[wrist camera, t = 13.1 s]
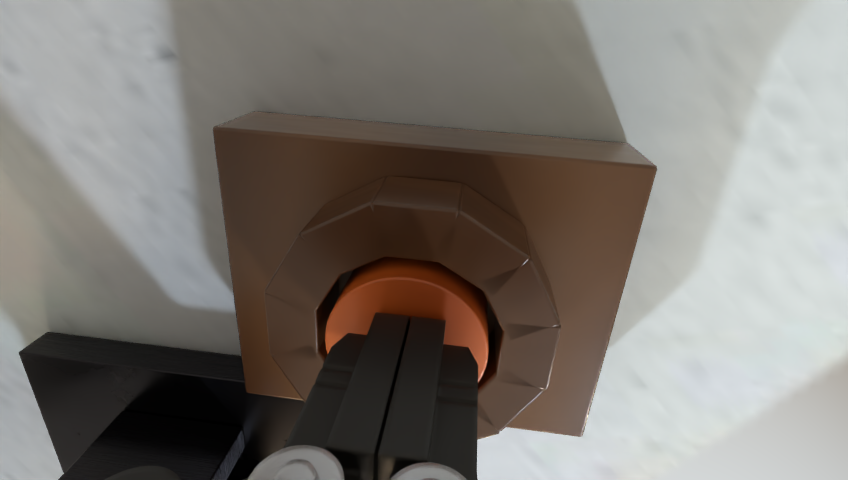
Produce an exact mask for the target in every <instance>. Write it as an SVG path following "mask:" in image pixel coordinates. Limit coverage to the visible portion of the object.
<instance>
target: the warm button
mask: <svg viewBox="0 0 848 480" xmlns="http://www.w3.org/2000/svg"><path fill="white" fill-rule="evenodd" d="M376 312H380V313H388V314H397V315H405V316H410V323H411V319H412V316H415V317H423V318H432V319H440V320H446V326H445V337H444V344H446V345H454V346H462V347H469V349H470V351H471V353H472V355H473V356H474V358H475V360H476V362H477V364H478V382H479V381H480V379H481V377H482V376H483V374H484V371H485V369H486V366H487V361H488V352H489V341H488V305H487V299H486V297H485V295H484V293H483V291H482V290H481V289H479V288H478V287H476V286H475V285H473V284H471V283H470V282H468V281H467V280H465V279H464V278H462V277H461V276H459V275H458V274H456V273H455V272H453V271H451V270H450V269H448V268H447V267H445V266H444V265H442V264H441V263H439V262H432V261H423V260H414V259H404V258H395V257H386V256H385V257H383V258H380V259H378V260H375V261H373V262H370V263H368V264H366V265H363V266H361V267H358V268H356V269H354V270H353V272H352V274H351V275H350V277H349V279H348V281H347V283H346V285H345V287H344V288H343V290H342V292H341V294H340V296H339V298H338V300H337V302H336V304H335V306H334V308H333V310H332V311H331V313H330V316H329V318H328V321H327V325H326V330H325V343H326V350H327V354H328V353H329V351H330V349H331V347H332V346H333V345H334V344H335V343H337V342H338V341H339V340H340V339H341V338H343V337H344V336H345V335H346V334H347V333H354V334H362V335H367V334H368V331H369V328H370V326H371V323H372V320H373V318H374V315H375V313H376Z"/></svg>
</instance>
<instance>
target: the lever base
mask: <svg viewBox="0 0 848 480" xmlns="http://www.w3.org/2000/svg"><path fill="white" fill-rule="evenodd" d="M19 355H20V358H21V360H22V363H23V366H24V368H25V371H26V374H27V376H28V379H29V382H30V384H31V387H32V390H33V392H34V395H35V398H36V400H37V403H38V406H39V408H40V411H41V414H42V416H43V419H44V422H45V424H46V427H47V430H48V432H49V435H50V438H51V440H52V443H53V446H54V448H55V451H56V454H57V456H58V459H59V462H60V464H61V467H62V470H63V472H64V474H63V475H62V476H61V477H60V478H59V479H58V480H105V479H107V478H109V477H111V476H113V475H115V474H117V473H119V472H122V471H125V470H128V469H131V468H135V467H140V466H160V467H165V468H167V469H169V470H172V471H173V472H174V473H176V474H177V475H178V477H179V478H180V479H181V480H243V479H246V478H248V477H249V476H250V474H251V473H252V472H253V470H254V469H255V468H256V466H257V465H258V464H259V463H260V462H261V461H263V460H264V459H265V458H266V457H268V456H269V455H271V454H273V453H274V452H276V451H279V450H281V449H283V448H284V446H285V444H286V442H287V440H288V438H289V436H290V434H291V431H292V429H293V427H294V425H295V423H296V421H297V419H298V417H299V414H300V412H301V410H302V408H303V406H304V404H305V402H304V401H303V400H297V399H290V398H282V397H274V396H267V395H259V394H252V393H247V392H246V387H245V379H244V371H243V363H242V356H234V355H226V354H218V353H210V352H202V351H194V350H186V349H178V348H170V347H162V346H154V345H146V344H138V343H130V342H122V341H114V340H106V339H98V338H90V337H83V336H75V335H67V334H59V333H51V332H47V333H45V334H44V335H42V336H41V337H40V338H38V339H37V340H35V341H34V342H33V343H31V344H30V345H28V346H27V347H26V348H24V349H23V350H21V351H20V352H19Z"/></svg>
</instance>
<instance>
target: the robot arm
mask: <svg viewBox="0 0 848 480" xmlns="http://www.w3.org/2000/svg"><path fill="white" fill-rule="evenodd" d="M445 326H446V320H440V319H432V318H423V317H415V316H412V319H411V323H410V316H405V315H397V314H388V313H380V312H376V313H375V315H374V318H373V320H372V323H371V326H370V328H369V331H368V334H367V335H362V334H354V333H347V334H346V335H345V336H344V337H343V338H341V339H340V340H339V341H338V342H337V343H335V344H334V345H333V346H332V347H331V349H330V351H329V353H328V355H327V357H326V359H325V361H324V363H323V367H322V369H321V370H320V372H319V374H318V376H317V378H316V381H315V384H314V385H313V387H312V389H311V391H310V393H309V395H308V397H307V400H306V402H305V404H304V406H303V408H302V410H301V412H300V414H299V417H298V419H297V421H296V423H295V425H294V427H293V429H292V431H291V434H290V436H289V438H288V440H287V442H286V444H285V446H284V448H283V449H281V450H279V451H276V452H274V453H273V454H271V455H269V456H268V457H266V458H265V459H264V460H263V461H261V462H260V463H259V464H258V465H257V466H256V468H255V469H254V470H253V472H252V473H251V474H250V476H249V477H248V478H246V479H243V480H477V416H478V406H477V404H478V364H477V362H476V360H475V358H474V356H473V355H472V353H471V351H470V349H469V347H462V346H454V345H446V344H444V337H445ZM105 480H181V479H180V478H179V477H178V475H177V474H176V473H174V472H173V471H172V470H169V469H167V468H165V467H160V466H140V467H135V468H131V469H128V470H125V471H122V472H119V473H117V474H115V475H113V476H111V477H109V478H107V479H105Z"/></svg>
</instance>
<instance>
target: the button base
mask: <svg viewBox="0 0 848 480" xmlns="http://www.w3.org/2000/svg"><path fill="white" fill-rule="evenodd" d="M213 135H214V143H215V151H216V159H217V166H218V174H219V182H220V190H221V198H222V206H223V214H224V222H225V230H226V237H227V245H228V253H229V261H230V269H231V277H232V285H233V293H234V300H235V308H236V316H237V324H238V332H239V340H240V348H241V356H242V363H243V371H244V379H245V387H246V392H247V393H252V394H259V395H267V396H274V397H282V398H290V399H297V400H303V401H304V402H306V400H307V397H308V395H309V393H310V391H311V389H312V387H313V385H314V384H315V381H316V378H317V376H318V374H319V372H320V370H321V369H322V367H323V363H324V361H325V359H326V357H327V355H328V354H327V350H326V343H325V330H326V325H327V321H328V318H329V316H330V313H331V311H332V310H333V308H334V306H335V304H336V302H337V300H338V298H339V296H340V294H341V292H342V290H343V288H344V287H345V285H346V283H347V281H348V279H349V277H350V275H351V274H352V272H353V270H354V269H356V268H358V267H361V266H363V265H366V264H368V263H370V262H373V261H375V260H378V259H380V258H383V257H385V256H386V257H395V258H404V259H414V260H423V261H432V262H439V263H441V264H442V265H444V266H445V267H447V268H448V269H450V270H451V271H453V272H455V273H456V274H458V275H459V276H461V277H462V278H464V279H465V280H467V281H468V282H470V283H471V284H473V285H475V286H476V287H478V288H479V289H481V290H482V291H483V293H484V295H485V297H486V299H487V305H488V341H489V352H488V361H487V366H486V369H485V371H484V374H483V376H482V377H481V379H480V381H479V382H478V404H477V406H478V416H477V439H481V438H485V437H488V436H492V435H496V434H499V431H502V430H503V429H504V428H505V427H510V428H518V429H525V430H533V431H540V432H548V433H556V434H563V435H571V436H578V437H581V436H582V435H583V432H584V429H585V425H586V421H587V418H588V414H589V411H590V407H591V404H592V400H593V396H594V393H595V389H596V386H597V382H598V378H599V375H600V371H601V368H602V364H603V361H604V357H605V353H606V350H607V346H608V343H609V339H610V336H611V332H612V328H613V325H614V321H615V318H616V314H617V310H618V307H619V303H620V300H621V296H622V293H623V289H624V285H625V282H626V278H627V275H628V271H629V267H630V264H631V260H632V257H633V253H634V250H635V246H636V242H637V239H638V235H639V232H640V228H641V225H642V221H643V217H644V214H645V210H646V207H647V203H648V199H649V196H650V192H651V189H652V185H653V182H654V178H655V174H656V171H657V166H656V165H654V164H653V163H652V162H651V161H649V160H648V159H647V158H646V157H645V156H643V155H642V154H641V153H640V152H638V151H637V150H636V149H635V148H634V147H632V146H631V145H630V144H628V143H619V142H607V141H595V140H584V139H572V138H560V137H548V136H537V135H525V134H513V133H502V132H490V131H478V130H466V129H455V128H443V127H431V126H420V125H408V124H396V123H384V122H373V121H361V120H349V119H337V118H326V117H314V116H302V115H291V114H279V113H267V112H255V111H254V112H252V113H249V114H246V115H244V116H241V117H239V118H236V119H234V120H231V121H228V122H226V123H223V124H221V125H218V126H216V127H214V128H213Z"/></svg>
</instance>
